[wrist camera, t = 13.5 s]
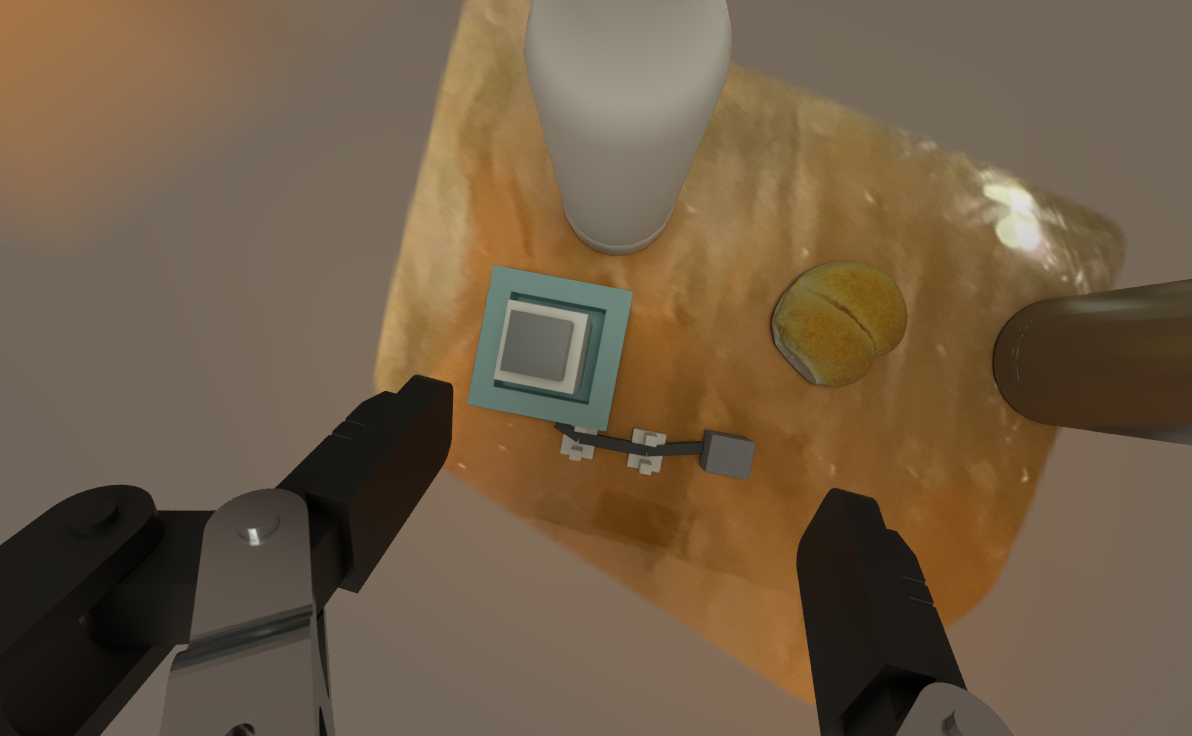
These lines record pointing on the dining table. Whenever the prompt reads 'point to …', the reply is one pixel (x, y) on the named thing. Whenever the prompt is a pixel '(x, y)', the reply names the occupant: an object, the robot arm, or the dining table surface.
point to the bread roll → (839, 321)
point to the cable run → (663, 449)
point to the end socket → (602, 359)
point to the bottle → (625, 106)
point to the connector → (543, 347)
